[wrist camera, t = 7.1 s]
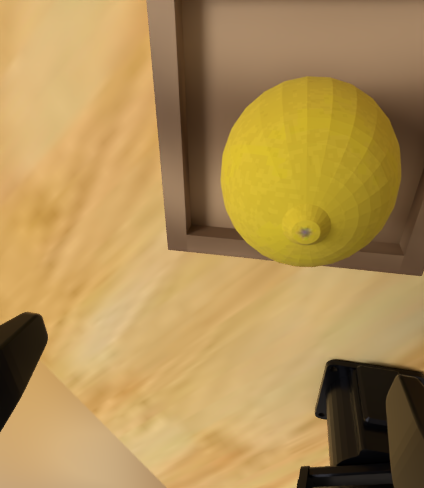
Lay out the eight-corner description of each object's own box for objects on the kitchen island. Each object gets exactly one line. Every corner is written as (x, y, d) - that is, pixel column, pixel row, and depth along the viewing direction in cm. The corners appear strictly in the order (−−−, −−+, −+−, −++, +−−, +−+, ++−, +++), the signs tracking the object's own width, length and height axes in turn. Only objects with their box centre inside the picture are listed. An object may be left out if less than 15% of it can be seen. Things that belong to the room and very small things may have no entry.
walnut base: (401, 230, 20) (421, 276, 17) (187, 212, 22) (168, 249, 19) (491, -49, 14) (551, -62, 10) (174, -41, 16) (142, -50, 12)
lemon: (370, 37, 13) (432, 82, 7) (383, 179, 16) (436, 308, 10) (223, 82, 15) (162, 152, 9) (257, 202, 18) (229, 324, 11)
